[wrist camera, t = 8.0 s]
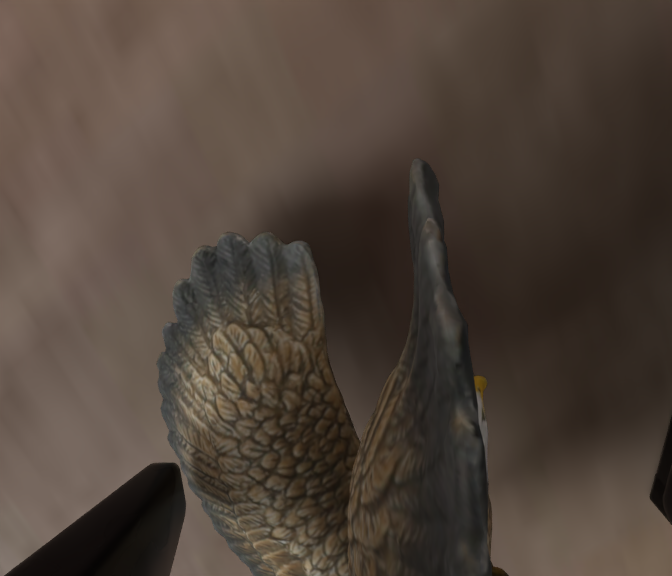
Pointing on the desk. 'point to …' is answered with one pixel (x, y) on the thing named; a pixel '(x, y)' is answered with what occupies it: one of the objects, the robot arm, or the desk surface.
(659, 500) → the desk tidy
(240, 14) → the desk surface
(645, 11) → the desk surface
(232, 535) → the eagle figurine
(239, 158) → the desk surface
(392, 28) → the desk surface
